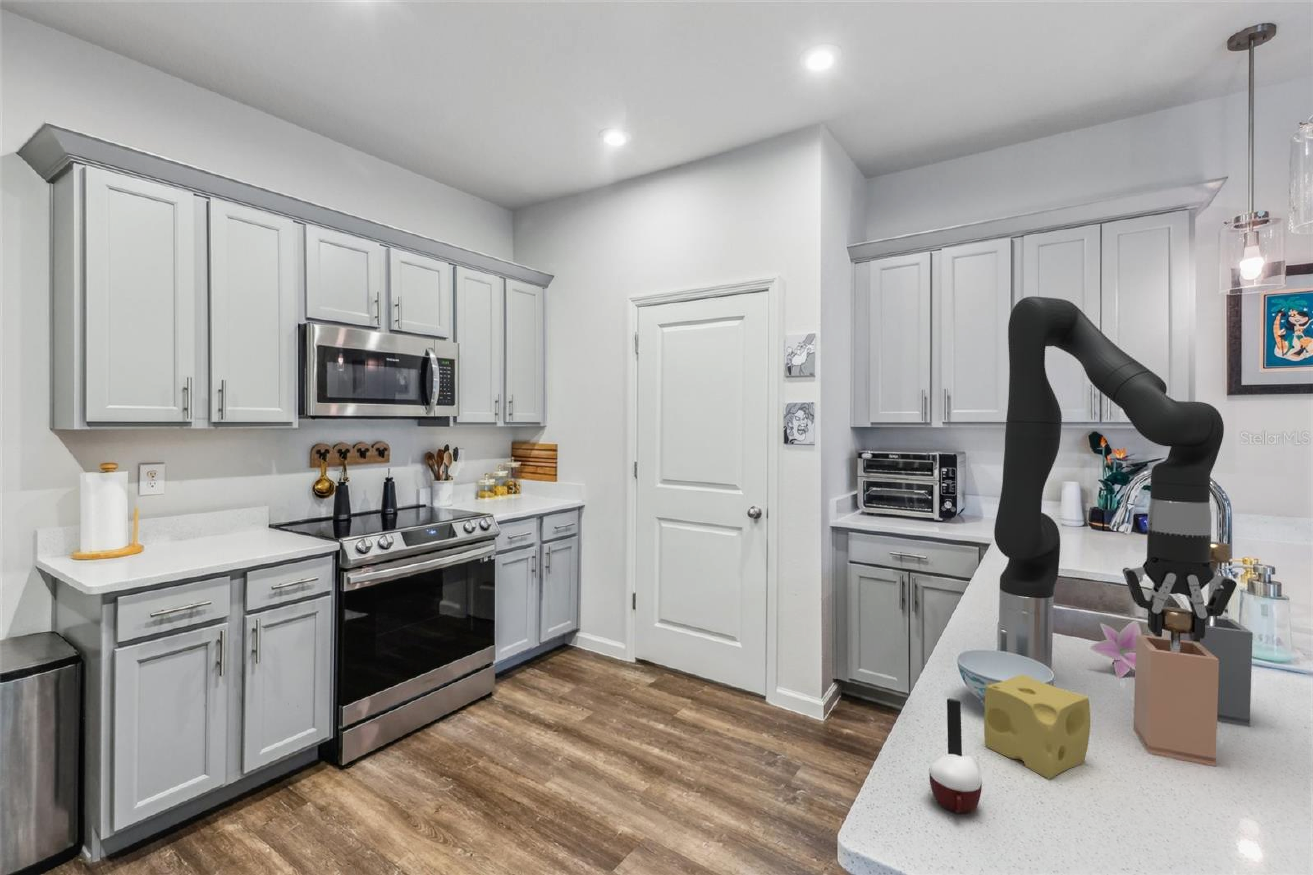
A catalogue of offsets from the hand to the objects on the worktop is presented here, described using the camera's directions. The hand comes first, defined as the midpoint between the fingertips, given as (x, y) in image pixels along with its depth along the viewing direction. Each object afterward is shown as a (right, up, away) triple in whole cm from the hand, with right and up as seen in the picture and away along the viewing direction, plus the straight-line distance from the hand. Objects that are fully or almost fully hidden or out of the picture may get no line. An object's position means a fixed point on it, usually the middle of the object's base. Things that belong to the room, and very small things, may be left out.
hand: (1175, 637), depth 94 cm
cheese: (-23, -18, -2) cm, 29 cm away
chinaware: (-20, -17, +13) cm, 29 cm away
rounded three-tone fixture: (-42, -18, -14) cm, 47 cm away
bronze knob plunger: (0, -12, 0) cm, 12 cm away
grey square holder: (+17, -17, +12) cm, 27 cm away
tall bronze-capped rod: (+17, -4, +12) cm, 21 cm away
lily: (+15, -17, +29) cm, 37 cm away
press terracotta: (0, -17, 0) cm, 17 cm away
